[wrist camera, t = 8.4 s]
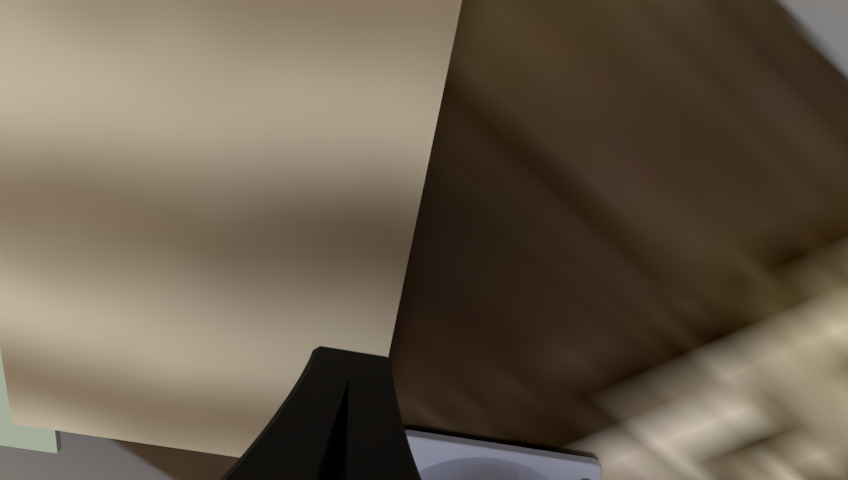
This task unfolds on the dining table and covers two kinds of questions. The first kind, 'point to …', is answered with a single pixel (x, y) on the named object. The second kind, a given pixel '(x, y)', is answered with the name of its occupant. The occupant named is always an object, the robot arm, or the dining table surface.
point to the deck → (204, 202)
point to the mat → (23, 427)
